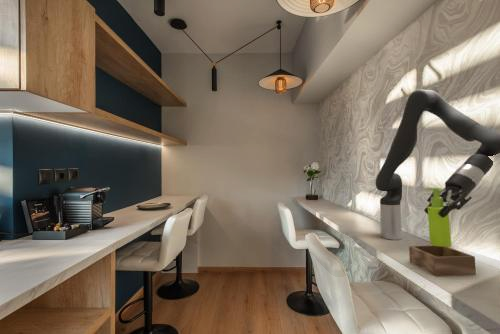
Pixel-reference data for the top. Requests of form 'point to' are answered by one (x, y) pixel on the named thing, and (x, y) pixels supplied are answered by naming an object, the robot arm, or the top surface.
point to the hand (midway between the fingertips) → (433, 214)
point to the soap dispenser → (438, 221)
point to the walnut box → (442, 260)
